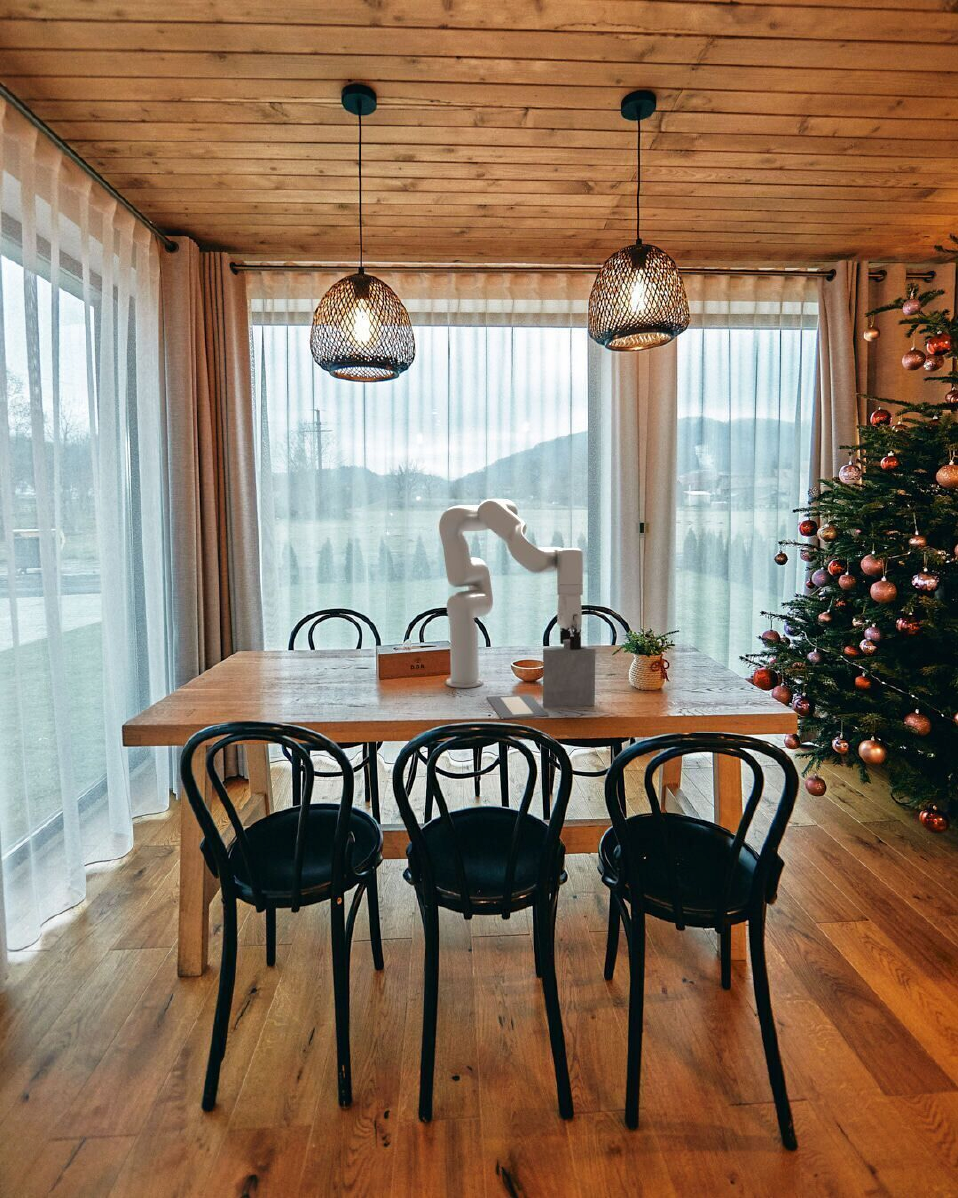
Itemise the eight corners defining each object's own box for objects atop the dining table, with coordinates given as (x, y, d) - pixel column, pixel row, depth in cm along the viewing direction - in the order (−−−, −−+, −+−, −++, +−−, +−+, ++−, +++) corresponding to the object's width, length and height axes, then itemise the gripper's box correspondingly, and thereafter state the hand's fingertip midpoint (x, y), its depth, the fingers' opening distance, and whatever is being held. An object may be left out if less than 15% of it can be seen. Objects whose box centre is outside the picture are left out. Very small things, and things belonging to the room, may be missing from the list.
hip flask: (543, 707, 206) (544, 642, 204) (541, 703, 210) (541, 639, 208) (595, 705, 208) (596, 640, 205) (592, 702, 212) (593, 638, 209)
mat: (486, 698, 217) (486, 696, 217) (529, 695, 219) (529, 694, 219) (501, 719, 195) (501, 717, 195) (548, 716, 198) (548, 714, 198)
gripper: (549, 587, 212) (550, 642, 214) (566, 593, 195) (567, 652, 197) (573, 586, 213) (573, 640, 215) (591, 592, 196) (592, 651, 199)
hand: (570, 646), depth 206 cm, fingers open, 9 cm apart
